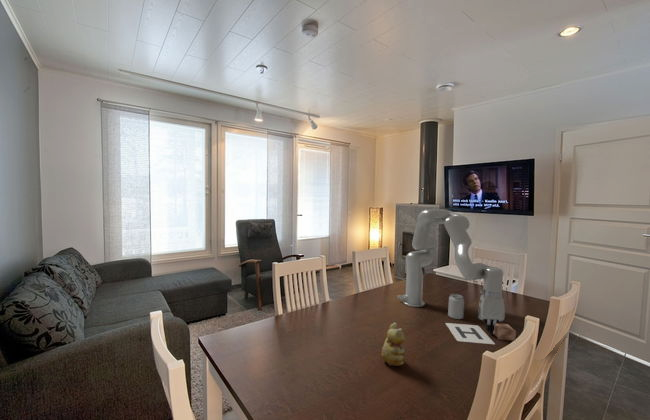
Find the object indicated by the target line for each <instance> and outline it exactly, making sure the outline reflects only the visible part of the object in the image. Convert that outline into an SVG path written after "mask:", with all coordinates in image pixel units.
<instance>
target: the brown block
mask: <svg viewBox="0 0 650 420" xmlns="http://www.w3.org/2000/svg"><path fill="white" fill-rule="evenodd" d="M493 335H494V336H495V337H496V338H497V339H498V340H505V341H514V340H515V341H516V337H517V331H516V330H515V329H514V328H513V327H512V326H511V325H509V324H507V323H499V322H497V323H496V325H494V331H493Z"/></svg>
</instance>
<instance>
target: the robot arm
mask: <svg viewBox="0 0 650 420" xmlns="http://www.w3.org/2000/svg"><path fill="white" fill-rule="evenodd" d="M432 225H444V228H445V230H446V232H447V233H448V236H449V238H450V240H451V242H452V245H453V246H454V259H455V264H456V266H457V268H458V270H459V273H460V274H461V275H462V277H463V278H464V279H465V280H467V281H471V282H472V281H477V280H482V279H483V283H482V284H483V287H482V289H481V290H479V293H480V294H481V295H480V297H479V298H480V299H479V303H478V311H477V312H478V315H477V318H478V319H479V320H481V321H484V322H485V330H486V332H488V334H493V331H494V325H496V323H499V322H503V321H504V320H505V318H506V309H505V300H504V297H503V281H504V277H503V276H504V271H503V269H502V268H499V267H495V266H490V265H487V264H485V263H481V262H476V263H472V261H471V259H470V255H469V250H470V249H469V248H470V246H471V245H472V243H473V242H472V239H471V237H470V235H469V233H468V232H467V230H468V229H469V227H470V221H469V219H468V218H467V217H466V216H465V215H463V214H460V213H456V212H455V211H452V210H449V209H445V208H439V209H438V208H431V209H430V208H429V209H424V210H422V211H420V213H419V214H418V216H417V219H416V225H415V229H414V233H413V238H412V242H411V246H412V248H413V249H414V250H415V251H410V252H408V253H407V254H406V256H405V259H404V260H405V267H406V275H405V277H406V279H405V293H404V294H403V295H401V294H398V295H397V299H400V300H402V303H403V304H404V305H405V306H409V307H413V308H422V307H424V306H425V301H424V300H423V285H424V272H423V269H422V267H426V266H430V265H431V264H432V263H433V260H434V256H435V254H436V250H437V245H438V241H437V238H436V236H435V235H434V234H432V233H431V232H432ZM493 335H494V334H493Z"/></svg>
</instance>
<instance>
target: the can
mask: <svg viewBox="0 0 650 420" xmlns="http://www.w3.org/2000/svg"><path fill="white" fill-rule="evenodd" d="M464 306H465V299H464V296H463V295H461V294H458V293H450V296H449V297H448V306H447V307H448V308H447V310H448V312H447V316H448V317H450V318H451V319H453V320H461V319H462V320H463V319H464V315H465V314H464V312H465V307H464Z"/></svg>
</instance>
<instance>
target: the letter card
mask: <svg viewBox="0 0 650 420" xmlns="http://www.w3.org/2000/svg"><path fill="white" fill-rule="evenodd" d="M445 325H446V327H447V328H448V329H449V331H450V332H451V334H452V335H453V337H454V339H455V340H456V341H457V342H464V343H474V344H475V343H476V344H486V345H496V343H495V342H494V341H493V340H492V339H491V337H489V335H488V334H487V333H486V332H485V331H484V330H483V329H482V328H481V327H480V325H476V324H475V325H474V324H466V323H464V324H463V323H452V322H451V323H450V322H445Z"/></svg>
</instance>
